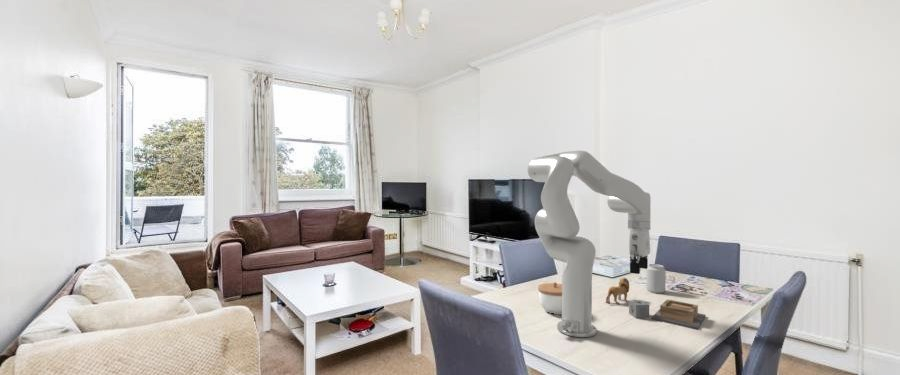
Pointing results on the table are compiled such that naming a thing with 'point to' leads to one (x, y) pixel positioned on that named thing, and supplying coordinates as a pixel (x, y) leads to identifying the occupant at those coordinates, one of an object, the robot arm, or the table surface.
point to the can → (656, 278)
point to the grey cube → (639, 309)
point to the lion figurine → (618, 291)
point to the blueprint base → (681, 323)
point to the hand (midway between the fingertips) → (638, 270)
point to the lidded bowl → (551, 297)
